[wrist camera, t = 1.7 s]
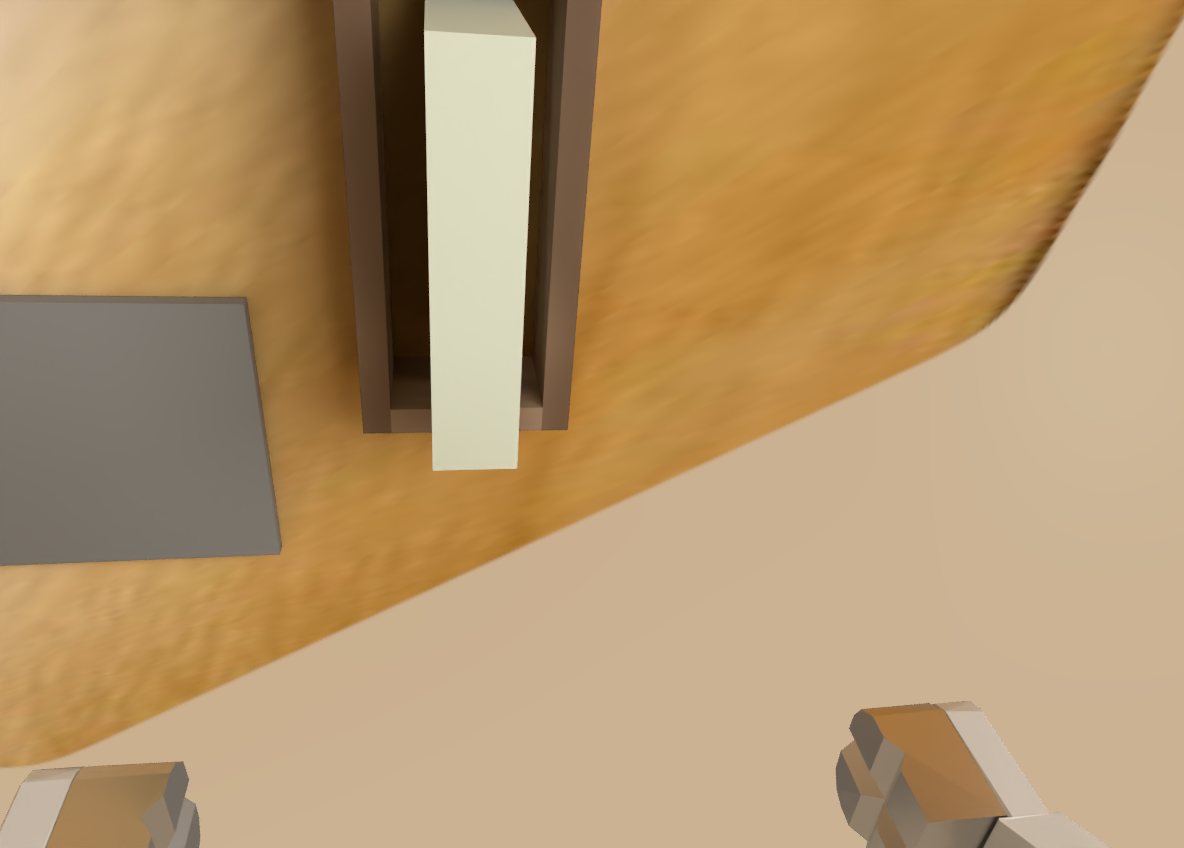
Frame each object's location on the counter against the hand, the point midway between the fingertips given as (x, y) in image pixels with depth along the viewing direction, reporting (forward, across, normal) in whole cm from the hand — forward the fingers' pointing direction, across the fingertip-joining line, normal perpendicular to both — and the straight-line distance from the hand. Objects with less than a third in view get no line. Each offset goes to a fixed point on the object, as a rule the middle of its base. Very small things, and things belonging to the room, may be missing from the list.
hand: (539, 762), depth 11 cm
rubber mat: (+24, +14, +11) cm, 30 cm away
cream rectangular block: (+24, 0, 0) cm, 25 cm away
